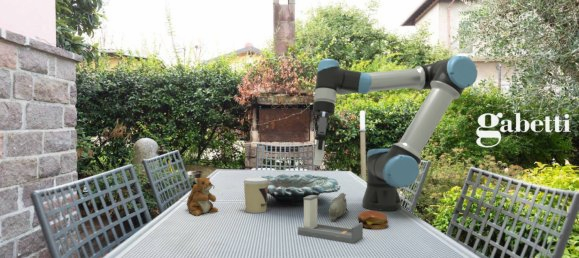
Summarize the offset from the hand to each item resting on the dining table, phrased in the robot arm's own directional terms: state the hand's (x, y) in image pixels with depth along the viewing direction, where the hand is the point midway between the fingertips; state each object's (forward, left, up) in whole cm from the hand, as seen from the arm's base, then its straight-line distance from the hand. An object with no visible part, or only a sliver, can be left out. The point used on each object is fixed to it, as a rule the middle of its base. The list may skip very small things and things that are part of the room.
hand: (317, 163), depth 143 cm
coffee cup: (+19, -20, -20) cm, 34 cm away
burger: (-17, +8, -20) cm, 28 cm away
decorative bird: (-9, -6, -20) cm, 23 cm away
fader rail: (0, +18, -20) cm, 27 cm away
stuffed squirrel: (+40, -22, -20) cm, 50 cm away
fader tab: (+5, +13, -18) cm, 23 cm away
